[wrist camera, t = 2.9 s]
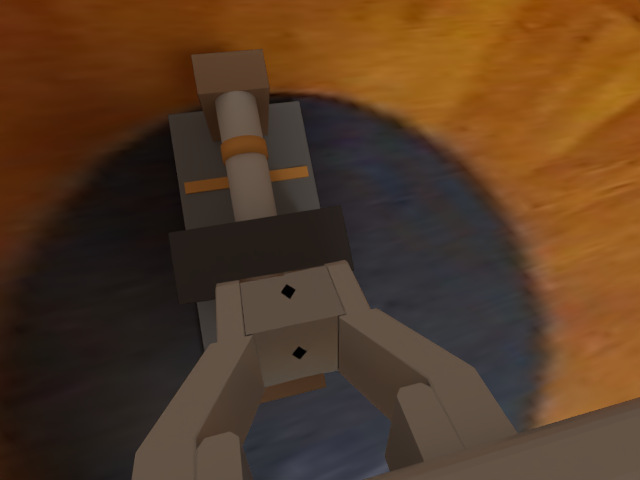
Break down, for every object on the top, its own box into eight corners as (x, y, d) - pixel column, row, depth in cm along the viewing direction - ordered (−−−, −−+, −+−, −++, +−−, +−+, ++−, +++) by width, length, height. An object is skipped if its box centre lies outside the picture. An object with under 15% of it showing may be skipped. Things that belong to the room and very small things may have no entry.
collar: (325, 277, 31) (354, 270, 22) (206, 301, 30) (178, 304, 20) (317, 232, 32) (340, 205, 22) (198, 252, 30) (168, 232, 20)
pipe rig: (345, 352, 34) (377, 374, 24) (212, 383, 32) (191, 421, 22) (297, 108, 37) (309, 44, 27) (171, 122, 34) (137, 57, 25)
